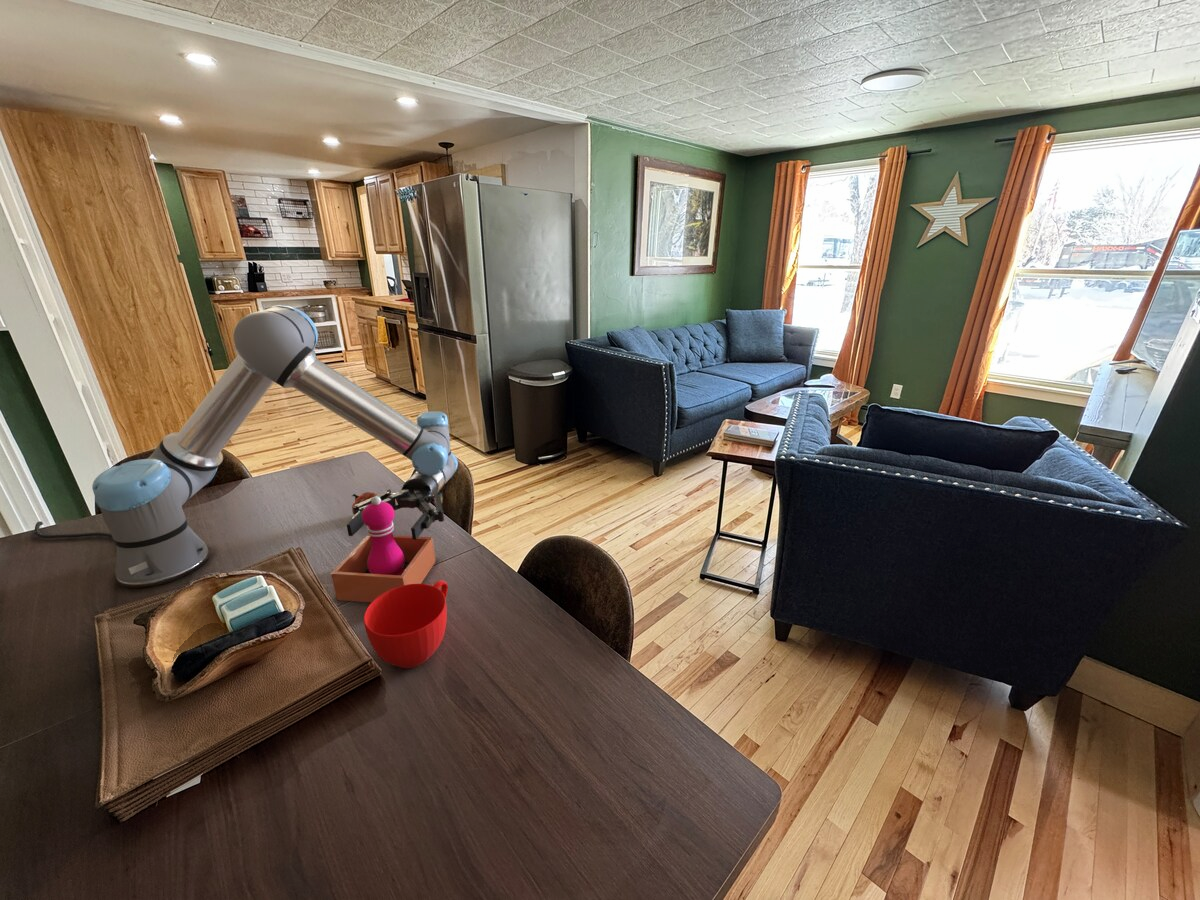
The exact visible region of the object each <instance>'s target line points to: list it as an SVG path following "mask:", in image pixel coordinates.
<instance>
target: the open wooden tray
mask: <svg viewBox="0 0 1200 900" xmlns="http://www.w3.org/2000/svg"><path fill="white" fill-rule="evenodd" d="M393 538H394V540H395V542H396V544H397V545H398V546H399V548H400V549H401V550H402V552H403V554H404V558H405V563H408V564H407V565H406V568H405V569H404V572H403V573H402V575H401V576H399V575H383V574H372V573H366V572H367V570H368V557H369V554H370V551H371V546H372V541H371V536H370V535H368V534H367V536H365V537H364V538H363V540H361V542H360V543H359V544H358V545H357V546H356V547H355V548H354V549H353V550H352V551H351V552H350V553H349V554H348V555H347V557H345V558H344V559H343V560H342V562H340V564H339V565H338V566H336V568H335V569H334V570H333V571H331V573H330V576H331V580H332V584H333V589H334V593H335V597H336V600H337V601H346V602H347V601H348V602H360V603H372V602H373V601H374V600H375V599H376V598H377V597H379V596H380V595H382V594H383V593H385V592H387V591H389V590H391V589H394V588H396V587H399V586H403V585H408V584H423V581H424V580H425V578H426V577H427V575H428V574H429V572H430V571H431V569H432V568H433V566H434V565H435V563H436V555H435V549H434V547H435V546H434V540H433V537H432V536H431V537H430V536H419V537H418V538H417V539H416V540H413V539H412V535H400V534H399V535H397V534H393Z"/></svg>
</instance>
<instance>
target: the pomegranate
mask: <svg viewBox="0 0 1200 900" xmlns="http://www.w3.org/2000/svg"><path fill="white" fill-rule="evenodd" d="M377 495H378V493H374V492H371V491H366V492H363V493H361V494H360V495H357V494H356V493H353V494H352V495H351V497H354V502H353V503H352V504H351V511H352V514H353V516H354V515H355V514H354V509H353V506H354V505H357V504H359V503H361V502H363V501H366V500H368V499H370V498H372V497H374V496H377Z"/></svg>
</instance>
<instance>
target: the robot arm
mask: <svg viewBox="0 0 1200 900" xmlns="http://www.w3.org/2000/svg"><path fill="white" fill-rule="evenodd" d="M318 338H319V332H318V328H317V327H316V324H315V323H314V321H313V319H311V317H310V316H308V315H307V314H306V313H305V312H304V311H302V310H300V309H298V308H296V307H293V306H288V305H273V306H269V307H268V308H266V309H262V310H259V311H254V312H251V313H249V314H247V315H245V316H243V317H242V318H241V319H240V320H238V322H237V323H236V326H235V328H234V330H233V343H234V351H235V354H236V357H235V358H234V359H233V360H232V362H231V363H230V364H229V366H228V367H227V368H226V369H225V371H224V372H223V373H222V375H221V376H220V378H219V379H218V380H217V381H216V382H215V384H214V385H213V387H212V388H211V389H210V390H209V392H208V393H207V394H206V396H205V397H204V399H202V401H201V402H200V404H199V405H198V407H197V408H196V409H195V410H194V412H193V413H192V414H191V416H190V417H189V418H188V419H187V421H186V422H185V423H184V425H183V426H182V427H181V429H180V430H179V432H177V431H176V432H170V433H168V434H166V435H165V436H164V437H163V438H162V440H161V441H160V443H159V444H158V445H157V447H155V449H154V451H153V452H152V453H151V454H150V455H149V456H148V457H147V458H141V459H135V460H130V461H127V462H122V463H121V464H120V465H114V466H112V467H110V468H107V469H106V470H104V471H102V472H101V473H99V474H98V475H97V477H96V478H95V479H94V480H93V482H92V485H91V486H92V487H91V489H92V493H93V495H94V501H95V504H96V505H97V507H98V508H99V509H100V512H101V515H102V517H103V520H104V521H105V523H106V525H107V528H108V530H109V532H99V531H98V532H85V533H84V532H82V533H65V534H44V533H41V531H40V527H41V526H43V525H44V523H43V521H37V522H36V523H35V524H34V525H35V526H34V533H35V535H36V536H37V537H39V538H43V539H60V538H81V537H82V538H83V537H94V536H101V537H108V538H112V540H113V542H114V544H115V546H116V555H115V566H114V567H115V570H114V573H115V577H116V580H117V583H118V584H119V585H120V586H121V587H124V588H129V589H143V588H149V587H155V586H160V585H163V584H167V583H170V582H173V581H175V580H179V579H180V578H183V577H184V576H187V575H189V574H191V573H192V572H194V571H196V570H198V569H199V568H200V567H201V566H203V565H204V564H205V563H206V562H207V561H208V559H209V557H210V551H209V548H208V546H207V544H206V543H205V542H204V540H203V539H202V538H201V537H200V536H199V535H198V534H197V533H196V532H195V531H194V530H193V529H192V528H191V527H190V525H189V523H188V521H187V518H186V515H185V512H184V510H183V506H184V504H185V503H187V502H188V501H189V500H190V499H192V498H193V496H194V495H195V494H197V493H198V492H199V491H200V490H201V489H203V488H204V487H205V486H206V485H208V484H209V483H210V482H211V481H212V480H213V478H214V477H215V475H216V473H217V470H218V468H219V467H220V466H221V464H222V462H223V461H224V455H223V453H222V450H223V449H224V448H225V447H226V445H227V444H228V443H229V441H230V440H231V439H232V437H233V436H234V435H235V434H236V433H237V431H238V430H239V429H240V427H241V426H242V425H243V423H245V422H246V420H247V419H248V417H249V416H250V415H251V413H252V412H253V411H254V409H255V408H256V406H258V404H259V403H260V402H261V400H263V398H264V396H265V395H266V394H267V392H268V391H270V389H271V388H272V387H273V385H274V384H277V385H279V386H280V387H282V388H283V389H291V388H292V389H295V390H297V391H298V392H299V393H301V394H303V395H305V396H306V397H308V398H309V399H311V400H312V401H314V402H316V403H318V404H319V405H321V406H323V407H324V408H326V409H327V410H329V411H331V412H332V413H334V414H336V415H337V416H339V417H340V418H342V419H344V421H347V422H349V423H350V424H351V425H353V426H355V427H357V428H358V429H360V430H361V431H363V432H365V433H366V434H368V435H370V436H371V437H373V438H374V439H376V440H377V441H379V442H381V443H382V444H384V445H386V446H388V447H389V448H391V449H392V450H394V451H395V452H397V453H399V454H400V455H402V456H404V457H405V458H407V459H408V460H409V461H411V464H412V466H413V468H414V470H415V472H414V473H413V474H412V475H411V476H410V477H409V478H408V479H407V480H406V481H405V482H404V483H403V485H402V487H401V489H400V490H399V491H397V492H392V491H391V489H390V488H388V489H385V490H383V491H382V492H381V493H379V494H377V497H379V498H380V499H381V502H386V503H388V504H390V505H391V506H392V508H393V510H394V511H397V510H401V509H415V508H416V509H418V511H419V512H420V513H422V514H421V515H420V517H419V518H417V520H416V521H415V523H413V525H412V526H411V528H410V533H411V536H412V539H413V540H416V539H417V538H418V537H420V535H421V534H422V533H423V532H424V530H425V529H427V530H428V529H429V528H430V527H431V526H432V524H433V523H435V522H436V521H438V522H441V523H442V522H444V521H445V515H444V509H443V503H444V498H443V492H441V490H442V489H443V488H444V486H445V485H446V483H448V481H449V480H450V479H451V478H452V477H454V475H455V473H456V471H457V469H458V467H459V461H458V458H457V457H456V455H455V454H454V453H453V452H452V449H451V438H450V427H449V426H450V424H449V420H448V415H447V414H446V413H445V412H442V411H437V410H435V411H434V410H433V411H432V410H431V411H426V412H425V411H424V412H422V413H420V414H419V415H417V417H416V422H414V421H412V420H411V419H409V418H408V417H406V416H404V415H403V414H402V413H400V412H398V411H397V410H396V409H394V408H392V407H391V406H390V405H388V404H387V403H385V402H384V401H382V400H380V399H379V398H377V396H374V395H373V394H371V393H370V392H369V391H367V390H365V389H364V388H362V387H360V386H359V385H358V384H356V383H354V382H353V381H352V380H350V379H348V378H347V377H345V376H344V375H343V374H341V373H340V372H338V371H336V370H335V369H334V368H332V367H330V366H329V365H327V364H326V363H324V362H323V361H321V360H320V359H318V357H317V353H316V351H315V348H316V346H317V344H318V341H319V340H318ZM374 497H375V496H374ZM372 498H373V497H372ZM372 498H370V499H368V500H366V501H363V502H361V503H359V504H357V505H354V506H353V509H354V514H355V515H354V514H353V516H352V517H351V520H349V522H348V523H347V524H346V530H347V535H348V537H353V536H354V535H355V534H357V532H359V530H360V529H361V528H362V527H363V526H364V525H365V524H364V522H363V520H362V512H363V510H364V509H365V507H366V506H368V505H369V504H371V499H372ZM431 502H432V503H433V504H434V506H435V509H434V507H433V508H432V507H431V505H430V504H431ZM37 530H39V531H37ZM35 531H36V532H35Z"/></svg>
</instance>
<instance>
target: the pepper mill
mask: <svg viewBox="0 0 1200 900" xmlns="http://www.w3.org/2000/svg"><path fill="white" fill-rule="evenodd" d="M394 518H395V510H393V508H392V506H391V505H390V504H388V503H386V502H381V499H380V498H379V497H377V496H375V497H373V498H372V499H371V504H369V505H368V506H366V507H365V509H364V510H363V512H362V520H363V522H364V525H365V526H366V530H367V536H368V535H370V536H371V541H372V546H371V551H370V554H369V557H368V569H367V570H368V571H369V572H370V573H369V574H383V575H399V576H401V575H402V573H403V572H404V571H405V569H404V566H405V563H406V562H405V558H404V554H403V552H402V550H401V549H400V548H399V546H398V545H397V544H396V542H395V540H394V538H393V535H394V533H393V532H394V530H395V526H394V522H393V521H394Z"/></svg>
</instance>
